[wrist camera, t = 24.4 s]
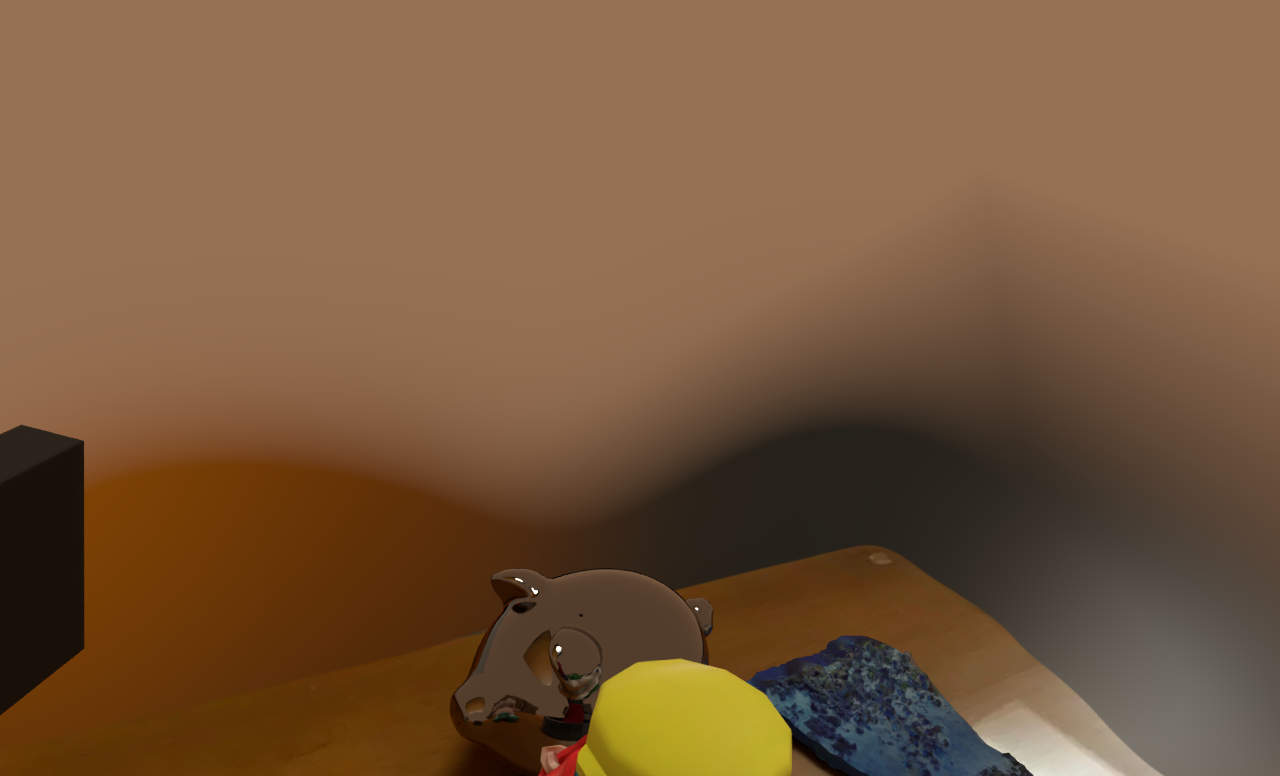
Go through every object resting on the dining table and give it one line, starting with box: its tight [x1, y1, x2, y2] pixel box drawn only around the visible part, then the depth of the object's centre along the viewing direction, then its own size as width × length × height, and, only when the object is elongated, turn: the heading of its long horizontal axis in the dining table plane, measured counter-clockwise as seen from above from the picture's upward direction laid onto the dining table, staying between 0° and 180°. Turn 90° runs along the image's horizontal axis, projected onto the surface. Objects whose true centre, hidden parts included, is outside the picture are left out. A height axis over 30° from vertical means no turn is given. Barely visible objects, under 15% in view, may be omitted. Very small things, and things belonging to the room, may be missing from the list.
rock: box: [746, 636, 1033, 776], centre depth 62 cm, size 15×17×2 cm
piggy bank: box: [450, 568, 713, 776], centre depth 53 cm, size 11×15×12 cm
